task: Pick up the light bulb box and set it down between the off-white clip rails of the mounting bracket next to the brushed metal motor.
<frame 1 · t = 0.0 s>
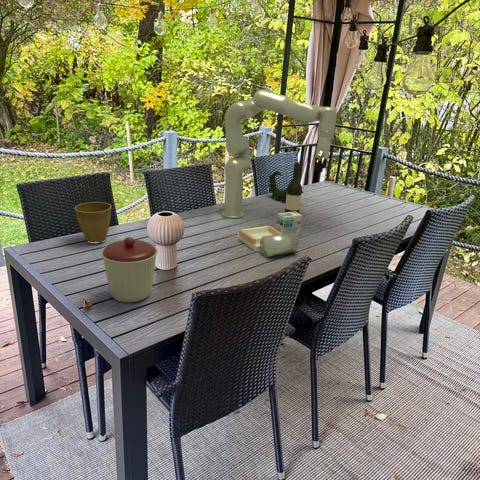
hand: (320, 169, 206), 31 cm above the table, tool pointing down, fingers open, 9 cm apart
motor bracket: (261, 242, 197), on the table
wine bottle: (291, 215, 238), on the table
canister: (131, 295, 144), on the table
light bulb box: (287, 235, 208), on the table
plant pot: (95, 241, 186), on the table
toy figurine: (284, 201, 263), on the table
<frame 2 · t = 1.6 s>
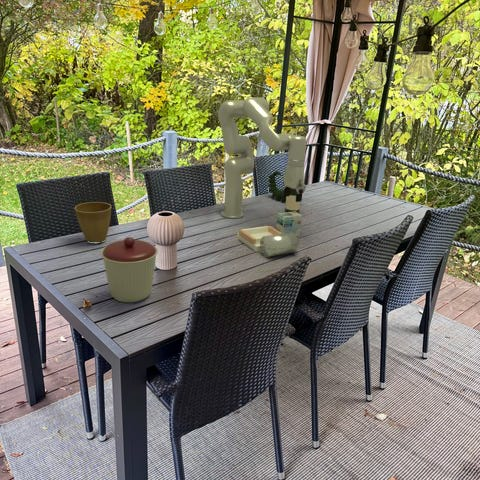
hand: (292, 198, 201), 18 cm above the table, tool pointing down, fingers open, 9 cm apart
nothing on the table moved.
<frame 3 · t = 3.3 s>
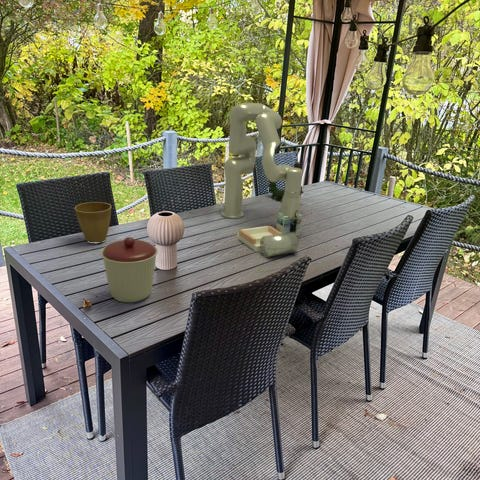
hand: (288, 228, 207), 3 cm above the table, tool pointing down, fingers closed on light bulb box, 6 cm apart
light bulb box: (287, 235, 208), on the table, touching gripper
everything else where it was.
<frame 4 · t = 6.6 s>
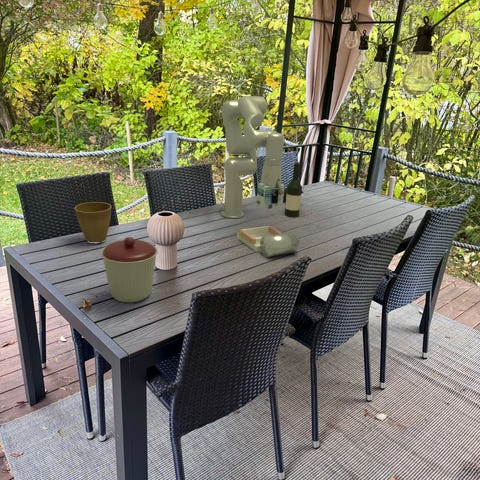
hand: (269, 200, 192), 20 cm above the table, tool pointing down, fingers closed on light bulb box, 6 cm apart
light bulb box: (269, 207, 193), point 16 cm above the table, touching gripper
everything else where it was.
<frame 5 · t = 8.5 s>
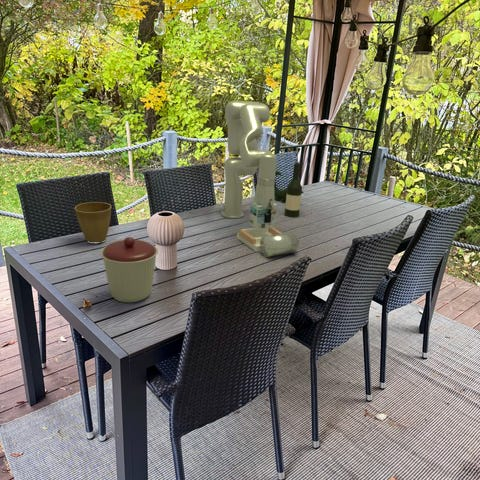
hand: (263, 219, 192), 11 cm above the table, tool pointing down, fingers closed on light bulb box, 6 cm apart
light bulb box: (262, 226, 194), point 8 cm above the table, touching gripper
everything else where it was.
when the fingers open (7 cm above the table, at t = 9.9 s): light bulb box drops 1 cm, resting on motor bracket.
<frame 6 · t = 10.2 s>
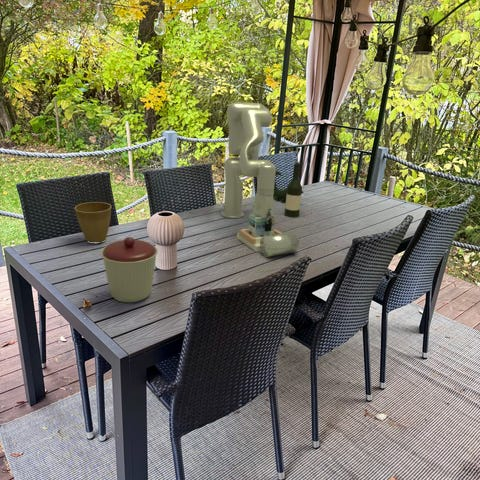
hand: (262, 227, 194), 7 cm above the table, tool pointing down, fingers open, 9 cm apart
light bulb box: (260, 237, 196), point 2 cm above the table, touching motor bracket
everything else where it was.
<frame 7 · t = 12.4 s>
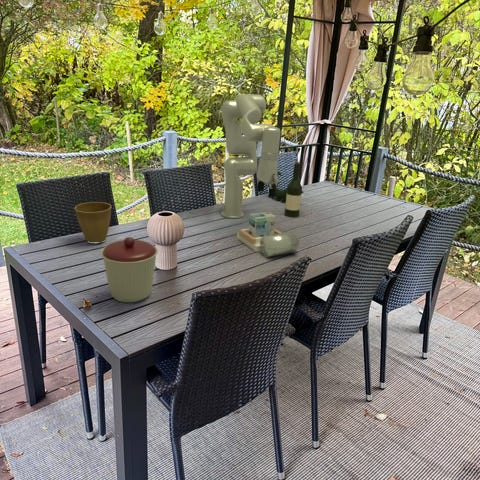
hand: (265, 194, 190), 23 cm above the table, tool pointing down, fingers open, 9 cm apart
nothing on the table moved.
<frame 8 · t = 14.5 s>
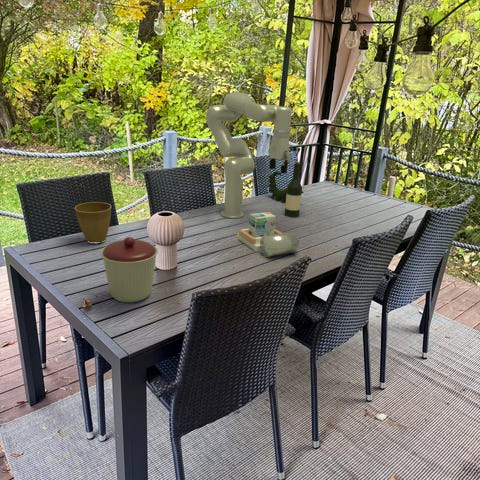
hand: (277, 171, 202), 30 cm above the table, tool pointing down, fingers open, 9 cm apart
nothing on the table moved.
at the end: light bulb box 0.5 cm off-centre on the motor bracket, point 2.3 cm above the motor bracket's base; light bulb box tilted 0°; the gripper is holding nothing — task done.
